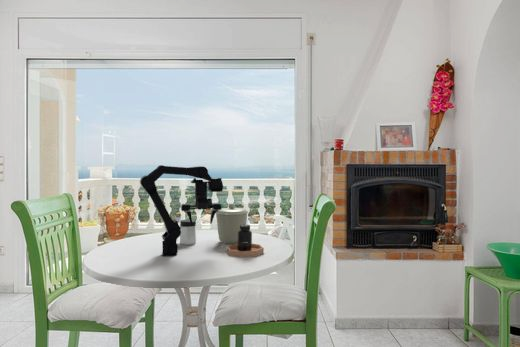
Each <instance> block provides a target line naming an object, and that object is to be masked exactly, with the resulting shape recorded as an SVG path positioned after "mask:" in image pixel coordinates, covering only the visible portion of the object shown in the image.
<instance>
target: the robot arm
mask: <svg viewBox="0 0 520 347" xmlns="http://www.w3.org/2000/svg"><path fill="white" fill-rule="evenodd" d="M164 174H165V175H180V176H190V177H193V179H192V180H191V181H190V183H191V184H194V192H195V193H194V203H195V204H193V205H191V204H190V203H182V204H181V205H180V210H181V211H182V212H184V213H185V214H186V215H187V217H188V220H190V223H191V225H192V220H193V219H192V211H191V210H198V211H199V210H200V211H201V210H208V209H210V217H209V218H210V220H209V221H210V222H209V223H210V225H212V223H213V220H214V217H215V215H216V212H218V211H219V210H221V208H222V204H221V203H220V202H213V199H212V198H208V191H209V192H210V193H219V192H220V193H222V192H223V189H224V182H223V180H222V177H214V178H212V176H211V175H210V174H209V170H208V169H207V167H206V166H201V165H200V166H199V165H198V166H192V167H191V166H190V167H183V166H172V165H170V166H168V165H162V164H161V165H158V166H157V167H156V168H155V169H153V170H152V171H151V172H150V173H148V174H147V175H143V176H141V178H140V180H139V184H140V186H141V187H142V188H143V189H144V190H145V192H146V193H147V194H148V195H149V197H150V199H151V201H152V203H153V205H154V206H155V208H156V210H157V212H158V214H159V216H160V218H161V220H162V222H163V225H164V228H165V232H164V233H163V234H162V235H161V238H162V242H161V243H162V251H161V252H162V254H161V256H162V257H171V256H177V255H178V253H179V248H178V246H179V245H178V242H177V241H178V238H180V234H181V230H180V229H181V228H180V225H179V222H178V220H176V219H172V217H171V215H170V213H169V212H168V210H167V207H166V205H165V204H164V202H163V200H162V198H161V196H160V195H159V192H158V188H157V186H156V181H158V179H160V178H161V177H162V176H163V175H164Z"/></svg>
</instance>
